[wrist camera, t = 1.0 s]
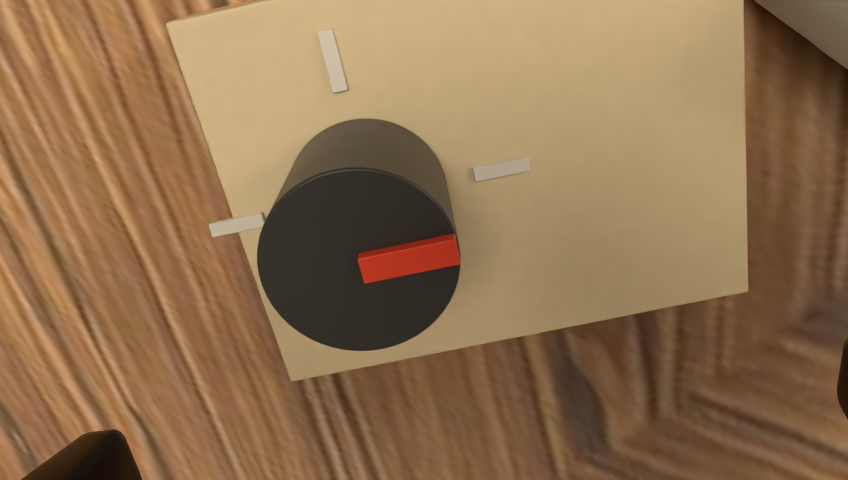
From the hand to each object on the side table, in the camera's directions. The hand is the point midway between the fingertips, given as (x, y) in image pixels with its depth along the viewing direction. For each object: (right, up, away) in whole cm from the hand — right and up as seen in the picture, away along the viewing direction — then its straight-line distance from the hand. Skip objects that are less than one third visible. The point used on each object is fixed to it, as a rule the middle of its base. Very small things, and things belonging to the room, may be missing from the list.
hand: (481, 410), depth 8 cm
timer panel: (+1, +5, +11) cm, 12 cm away
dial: (-2, +3, +8) cm, 9 cm away
